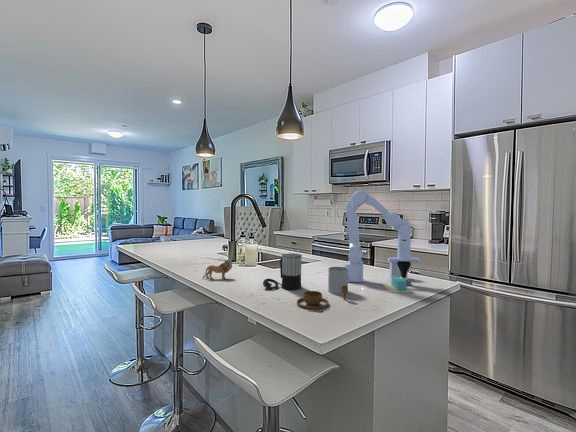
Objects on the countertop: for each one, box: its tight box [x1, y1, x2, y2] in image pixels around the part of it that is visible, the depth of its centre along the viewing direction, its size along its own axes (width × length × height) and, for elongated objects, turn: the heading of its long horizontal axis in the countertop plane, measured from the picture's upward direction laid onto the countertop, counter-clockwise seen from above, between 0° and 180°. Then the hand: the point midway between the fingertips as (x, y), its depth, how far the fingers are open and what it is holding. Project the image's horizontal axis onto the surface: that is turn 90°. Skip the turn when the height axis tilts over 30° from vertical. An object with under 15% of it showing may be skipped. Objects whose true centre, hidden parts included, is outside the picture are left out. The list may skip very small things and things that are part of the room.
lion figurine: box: [202, 259, 233, 280], centre depth 162 cm, size 15×5×9 cm, turn 103°
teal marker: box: [390, 277, 407, 291], centre depth 145 cm, size 3×11×4 cm, turn 1°
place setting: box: [296, 285, 349, 313], centre depth 121 cm, size 18×20×6 cm
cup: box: [327, 266, 349, 295], centre depth 139 cm, size 8×8×10 cm
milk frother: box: [262, 252, 303, 291], centre depth 145 cm, size 14×16×15 cm
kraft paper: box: [382, 284, 412, 293], centre depth 144 cm, size 9×12×1 cm
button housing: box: [406, 278, 412, 286], centre depth 152 cm, size 5×5×2 cm
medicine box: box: [389, 262, 408, 279], centre depth 164 cm, size 8×4×9 cm, turn 84°
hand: (403, 277), depth 152 cm, fingers closed, pressing on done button
